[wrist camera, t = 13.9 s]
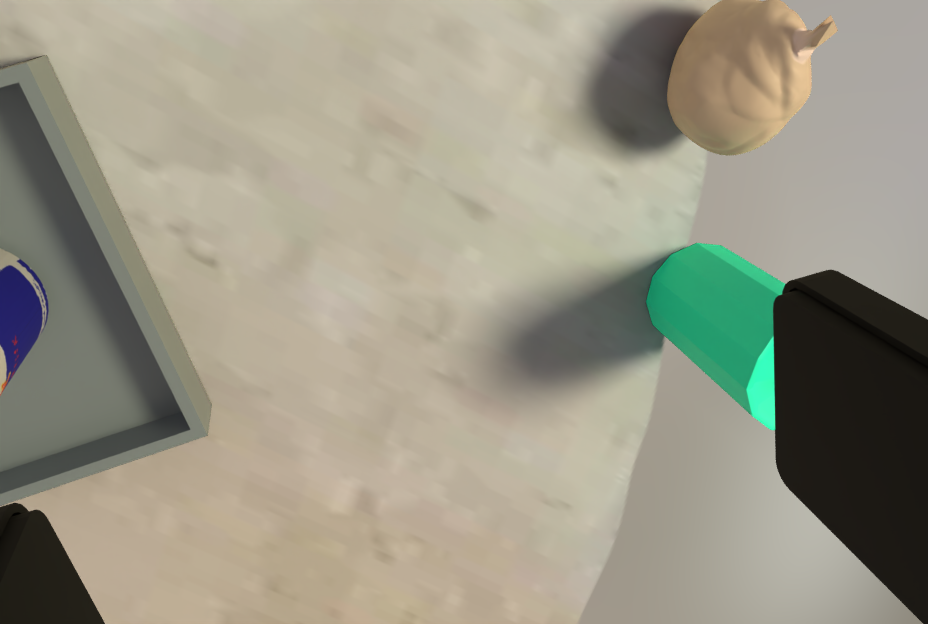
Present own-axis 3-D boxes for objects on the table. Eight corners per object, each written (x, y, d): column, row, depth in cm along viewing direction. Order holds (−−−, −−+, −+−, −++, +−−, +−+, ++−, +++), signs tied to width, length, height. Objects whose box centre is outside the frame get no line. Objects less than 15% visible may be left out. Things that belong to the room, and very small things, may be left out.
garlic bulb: (780, 85, 41) (888, 108, 34) (681, 161, 41) (767, 200, 34) (726, -27, 38) (832, -27, 31) (620, 56, 38) (700, 75, 31)
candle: (759, 297, 46) (909, 396, 35) (676, 359, 46) (799, 476, 35) (715, 220, 43) (863, 303, 32) (627, 287, 44) (744, 390, 33)
